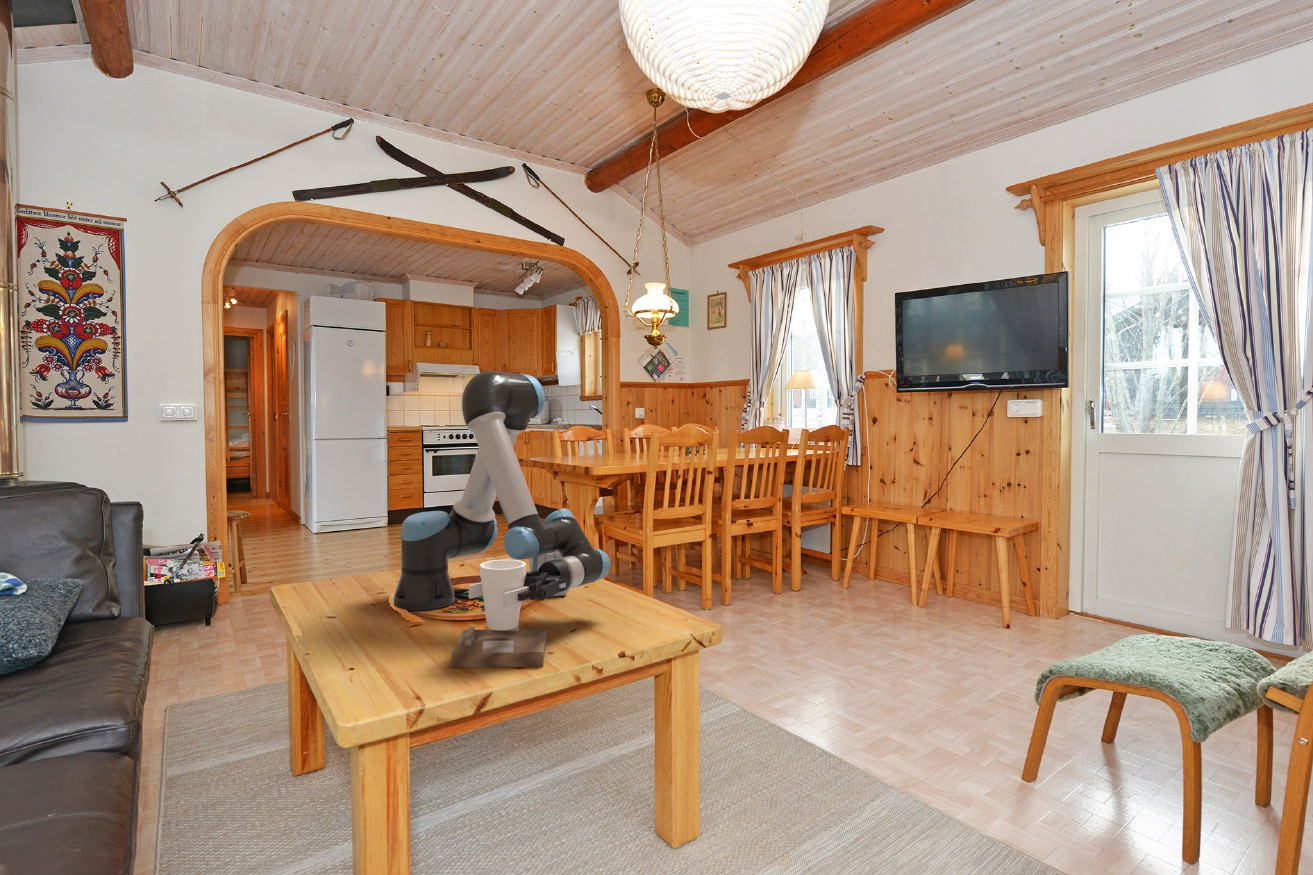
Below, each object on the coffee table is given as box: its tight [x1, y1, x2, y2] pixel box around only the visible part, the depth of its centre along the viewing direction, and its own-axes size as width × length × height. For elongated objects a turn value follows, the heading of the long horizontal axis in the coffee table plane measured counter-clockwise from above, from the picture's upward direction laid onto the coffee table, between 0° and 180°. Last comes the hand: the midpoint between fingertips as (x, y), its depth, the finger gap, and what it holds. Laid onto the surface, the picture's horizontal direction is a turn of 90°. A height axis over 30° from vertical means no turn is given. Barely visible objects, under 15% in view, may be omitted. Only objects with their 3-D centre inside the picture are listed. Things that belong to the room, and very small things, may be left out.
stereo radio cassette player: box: [529, 551, 568, 597], centre depth 197 cm, size 21×8×20 cm, turn 20°
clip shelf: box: [451, 620, 547, 669], centre depth 144 cm, size 18×14×5 cm
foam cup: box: [479, 559, 527, 630], centre depth 143 cm, size 10×9×13 cm
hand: (486, 595), depth 140 cm, fingers closed on foam cup, 9 cm apart
